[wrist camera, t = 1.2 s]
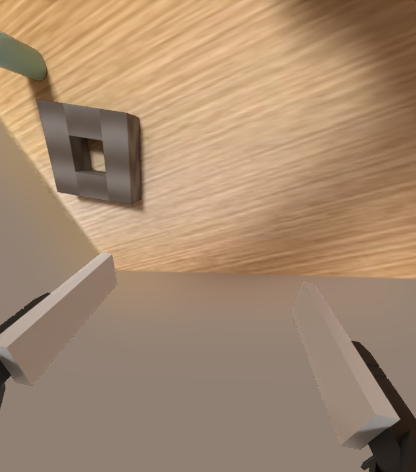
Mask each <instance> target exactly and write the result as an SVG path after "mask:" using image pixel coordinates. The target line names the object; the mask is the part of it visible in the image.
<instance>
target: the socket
mask: <svg viewBox="0 0 416 472" xmlns="http://www.w3.org/2000/svg"><path fill="white" fill-rule="evenodd" d="M36 100H37V105H38V109H39V113H40V118H41V122H42V126H43V131H44V135H45V139H46V144H47V148H48V152H49V157H50V161H51V165H52V170H53V174H54V178H55V183H56V187H57V191H58V192H60V193H66V194H72V195H78V196H84V197H90V198H96V199H101V200H107V201H113V202H119V203H125V204H133V203H135V202H137V201H139V200H141V180H140V141H139V117H136V116H134V115H131V114H128V113H124V112H117V111H111V110H104V109H98V108H91V107H84V106H78V105H71V104H65V103H58V102H52V101H45V100H38V99H36ZM87 138H90V139H96V140H102V141H103V150H104V159H105V169H106V172H102V171H96V170H91V165H90V157H89V150H88V143H87Z"/></svg>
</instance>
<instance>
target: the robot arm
mask: <svg viewBox="0 0 416 472" xmlns="http://www.w3.org/2000/svg"><path fill="white" fill-rule="evenodd" d="M116 285H117V279H116V274H115V268H114V262H113V256H112V254H108V253H101V254H99V255H98V256H97V257H96V258H95V259H93V260H92V261H91V262H89V263H88V264H87V265H86V266H85V267H83V268H82V269H81V270H80V271H78V272H77V273H76V274H75V275H73V276H72V277H71V278H70V279H68V280H67V281H66V282H65V283H63V284H62V285H61V286H60V287H58V288H57V289H56V290H55V291H53V292H52V293H46V294H44V295H42V296H40V297H38V298H36V299H34V300H33V301H32V302H30V303H29V304H28V305H26V306H25V307H24V309H21V310H20V311H19V312H17V313H16V314H15V316H12V317H11V318H9V319H8V320H7V321H6V322H4V323H3V324H2V325H0V407H1V403H2V400H3V396H4V392H5V383H4V382H5V381H6V380H7V379H8V378H9V377H10V376H12V378H13V379H14V381H15V382H16V383H20V384H24V385H30V386H33V385H34V383H35V382H36V381H37V380H38V379H39V377H40V376H41V375H42V374H43V373H44V371H45V370H46V369H47V368H48V367H49V365H50V364H51V363H52V362H53V361H54V359H55V358H56V357H57V356H58V355H59V353H60V352H61V351H62V350H63V349H64V347H65V346H66V345H67V344H68V343H69V342H70V340H71V339H72V338H73V337H74V336H75V334H76V333H77V332H78V331H79V330H80V328H81V327H82V326H83V325H84V324H85V322H86V321H87V320H88V319H89V318H90V316H91V315H92V314H93V313H94V312H95V310H96V309H97V308H98V307H99V306H100V304H101V303H102V302H103V301H104V300H105V299H106V297H107V296H108V295H109V294H110V293H111V291H112V290H113V289H114V288H115V287H116ZM290 312H291V314H292V317H293V320H294V322H295V325H296V328H297V330H298V333H299V336H300V339H301V341H302V344H303V347H304V349H305V352H306V355H307V357H308V360H309V363H310V365H311V368H312V371H313V374H314V376H315V378H316V381H317V384H318V387H319V389H320V392H321V395H322V398H323V400H324V403H325V406H326V409H327V411H328V414H329V417H330V419H331V422H332V424H333V427H334V430H335V433H336V436H337V438H338V441H339V443H340V446H343V447H348V448H354V449H359V450H361V449H362V448H364V447H365V446H366V445H367V444H368V445H369V447H370V449H371V451H372V453H373V456H371V457H370V458H368V459H367V460H366V461H364V462H363V464H362V466H361V468H362V469H363V470H366V469H367V468H369V472H416V419H415V417H414V416H413V414H412V413H411V411H410V410H409V408H408V407H407V406H406V404H405V403H404V401H403V400H402V398H401V397H400V395H399V394H398V393H397V391H396V390H395V388H394V387H393V386H392V384H391V382H390V381H389V379H387V378H386V375H385V374H384V372H383V371H382V369H381V368H379V365H378V363H377V362H376V360H375V359H374V358H373V356H372V355H371V353H370V352H369V351H368V350H366V348H364V346H363V345H361V344H360V343H359V342H355V341H351V340H350V339H349V337H348V336H347V334H346V332H345V331H344V329H343V328H342V326H341V324H340V323H339V321H338V320H337V318H336V317H335V315H334V313H333V312H332V310H331V309H330V307H329V305H328V304H327V302H326V301H325V299H324V297H323V296H322V294H321V293H320V291H319V290H318V288H317V286H316V285H315V283H311V282H304V281H302V284H301V286H300V288H299V291H298V293H297V296H296V298H295V301H294V303H293V305H292V308H291V310H290Z"/></svg>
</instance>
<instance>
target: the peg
mask: <svg viewBox="0 0 416 472" xmlns="http://www.w3.org/2000/svg"><path fill="white" fill-rule="evenodd" d="M0 67H2V68H4V69H7V70H10V71H12V72H15V73H18V74H21V75H23V76H26V77H29V78H31V79H34V80H38V81H40V80H42V79H44V78H45V76H46V64H45V61H44V59H43V57H42V56H41V54H40V53H39V52H38V51H37V50H35V49H33V48H32V47H30V46H28V45H26V44H24V43H22V42H20V41H18V40H16V39H14V38H13V37H11V36H9V35H7V34H5V33H3V32H1V31H0Z"/></svg>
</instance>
